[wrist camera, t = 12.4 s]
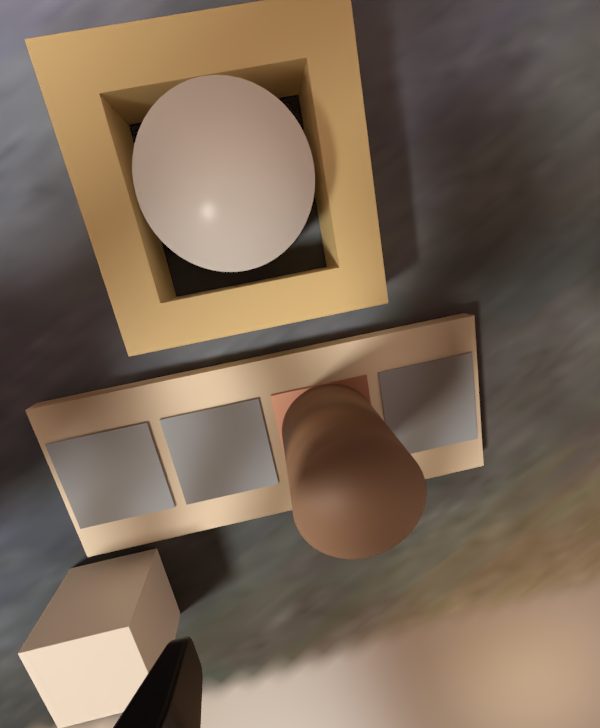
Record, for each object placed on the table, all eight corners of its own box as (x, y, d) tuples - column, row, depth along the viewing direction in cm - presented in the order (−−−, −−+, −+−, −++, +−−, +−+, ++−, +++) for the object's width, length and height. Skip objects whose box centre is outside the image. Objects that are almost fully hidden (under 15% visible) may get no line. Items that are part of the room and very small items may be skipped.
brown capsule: (290, 480, 16) (304, 571, 11) (273, 394, 15) (281, 455, 10) (380, 461, 16) (431, 542, 12) (369, 375, 15) (421, 426, 11)
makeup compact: (95, 544, 17) (86, 559, 16) (37, 402, 15) (23, 411, 14) (473, 457, 18) (484, 466, 17) (464, 313, 16) (475, 316, 15)
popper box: (149, 341, 15) (128, 356, 13) (69, 82, 13) (24, 38, 10) (368, 296, 15) (388, 303, 13) (332, 37, 13) (349, -14, 11)
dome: (182, 282, 14) (162, 287, 11) (141, 131, 13) (106, 92, 10) (314, 256, 14) (328, 254, 11) (288, 105, 13) (296, 59, 10)
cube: (100, 631, 18) (58, 728, 15) (71, 567, 17) (17, 653, 14) (180, 612, 19) (160, 702, 15) (157, 547, 18) (128, 626, 14)
